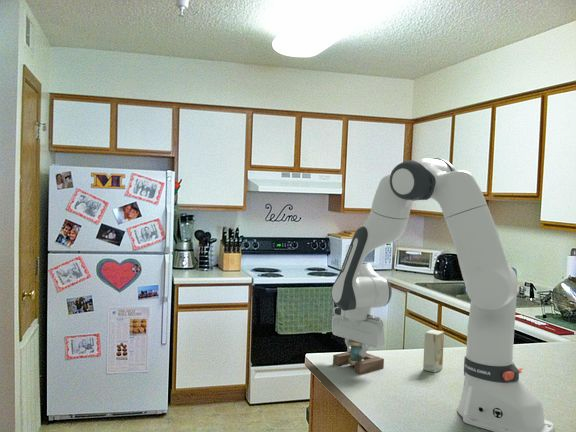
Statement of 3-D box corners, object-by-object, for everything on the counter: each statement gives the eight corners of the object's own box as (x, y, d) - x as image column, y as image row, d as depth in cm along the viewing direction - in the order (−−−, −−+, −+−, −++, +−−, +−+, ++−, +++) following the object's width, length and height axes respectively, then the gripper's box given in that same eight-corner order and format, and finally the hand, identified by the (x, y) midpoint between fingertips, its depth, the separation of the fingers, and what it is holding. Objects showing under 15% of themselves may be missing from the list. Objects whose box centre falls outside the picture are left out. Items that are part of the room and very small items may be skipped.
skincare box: (435, 373, 167) (437, 334, 166) (422, 370, 169) (424, 332, 169) (443, 368, 172) (444, 331, 171) (430, 365, 174) (431, 328, 174)
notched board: (383, 367, 170) (383, 358, 170) (360, 374, 163) (360, 364, 163) (356, 358, 179) (356, 349, 179) (332, 364, 172) (333, 355, 172)
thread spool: (367, 363, 170) (368, 341, 170) (356, 366, 167) (357, 344, 167) (355, 359, 174) (356, 338, 174) (345, 362, 171) (346, 340, 171)
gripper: (389, 317, 164) (388, 361, 164) (342, 305, 180) (341, 346, 180) (376, 319, 160) (374, 364, 160) (329, 307, 176) (327, 348, 176)
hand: (356, 354), depth 170 cm, fingers closed on thread spool, 4 cm apart
